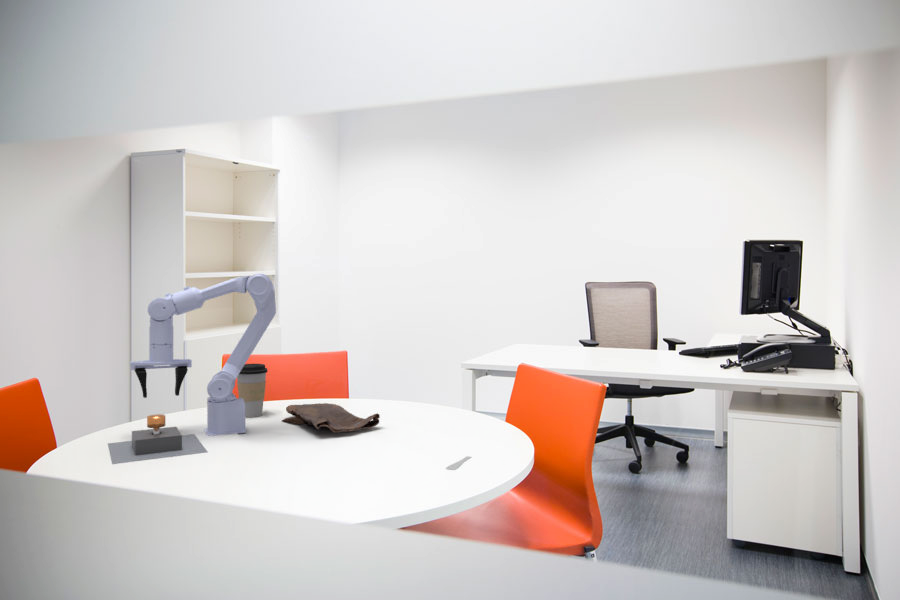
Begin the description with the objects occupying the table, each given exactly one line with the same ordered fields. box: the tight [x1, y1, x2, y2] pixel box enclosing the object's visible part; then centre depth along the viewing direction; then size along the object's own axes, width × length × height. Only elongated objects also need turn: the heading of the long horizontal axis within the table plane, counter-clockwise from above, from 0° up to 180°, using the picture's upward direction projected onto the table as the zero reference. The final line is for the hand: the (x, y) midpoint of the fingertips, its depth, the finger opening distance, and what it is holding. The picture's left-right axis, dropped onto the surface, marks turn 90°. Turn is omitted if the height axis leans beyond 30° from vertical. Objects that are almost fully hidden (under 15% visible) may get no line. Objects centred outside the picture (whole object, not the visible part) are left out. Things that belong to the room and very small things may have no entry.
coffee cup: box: [236, 363, 268, 418], centre depth 196 cm, size 9×9×15 cm
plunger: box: [146, 413, 166, 434], centre depth 157 cm, size 4×4×7 cm
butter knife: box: [445, 455, 472, 471], centre depth 153 cm, size 1×24×3 cm
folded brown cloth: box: [281, 402, 381, 433], centre depth 185 cm, size 32×20×5 cm, turn 34°
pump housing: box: [131, 426, 183, 455], centre depth 157 cm, size 10×10×4 cm
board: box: [107, 433, 208, 465], centre depth 157 cm, size 20×20×1 cm
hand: (161, 396), depth 170 cm, fingers open, 7 cm apart
